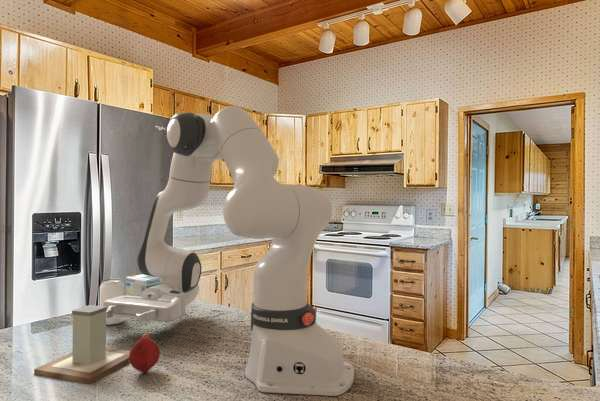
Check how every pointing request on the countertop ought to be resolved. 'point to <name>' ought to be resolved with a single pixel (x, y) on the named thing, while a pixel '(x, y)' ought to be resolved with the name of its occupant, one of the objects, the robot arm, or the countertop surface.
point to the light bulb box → (140, 284)
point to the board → (84, 367)
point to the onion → (144, 354)
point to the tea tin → (89, 334)
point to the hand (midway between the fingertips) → (121, 316)
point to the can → (111, 296)
